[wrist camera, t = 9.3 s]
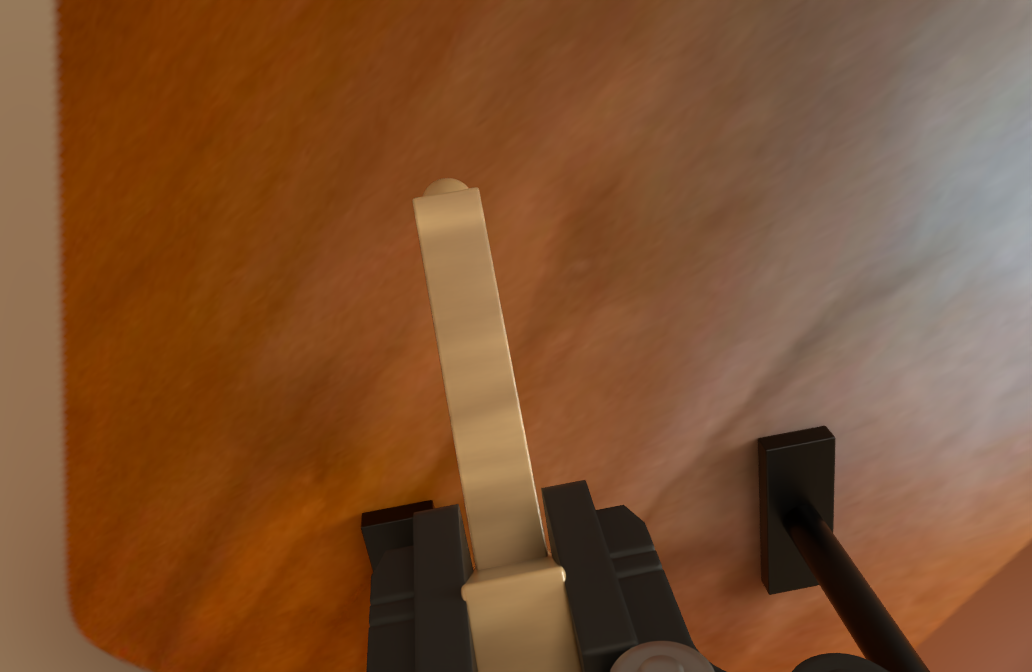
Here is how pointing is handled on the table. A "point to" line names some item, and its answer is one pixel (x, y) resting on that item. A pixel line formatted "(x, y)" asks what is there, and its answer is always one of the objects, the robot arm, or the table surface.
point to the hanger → (491, 447)
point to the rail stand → (766, 541)
